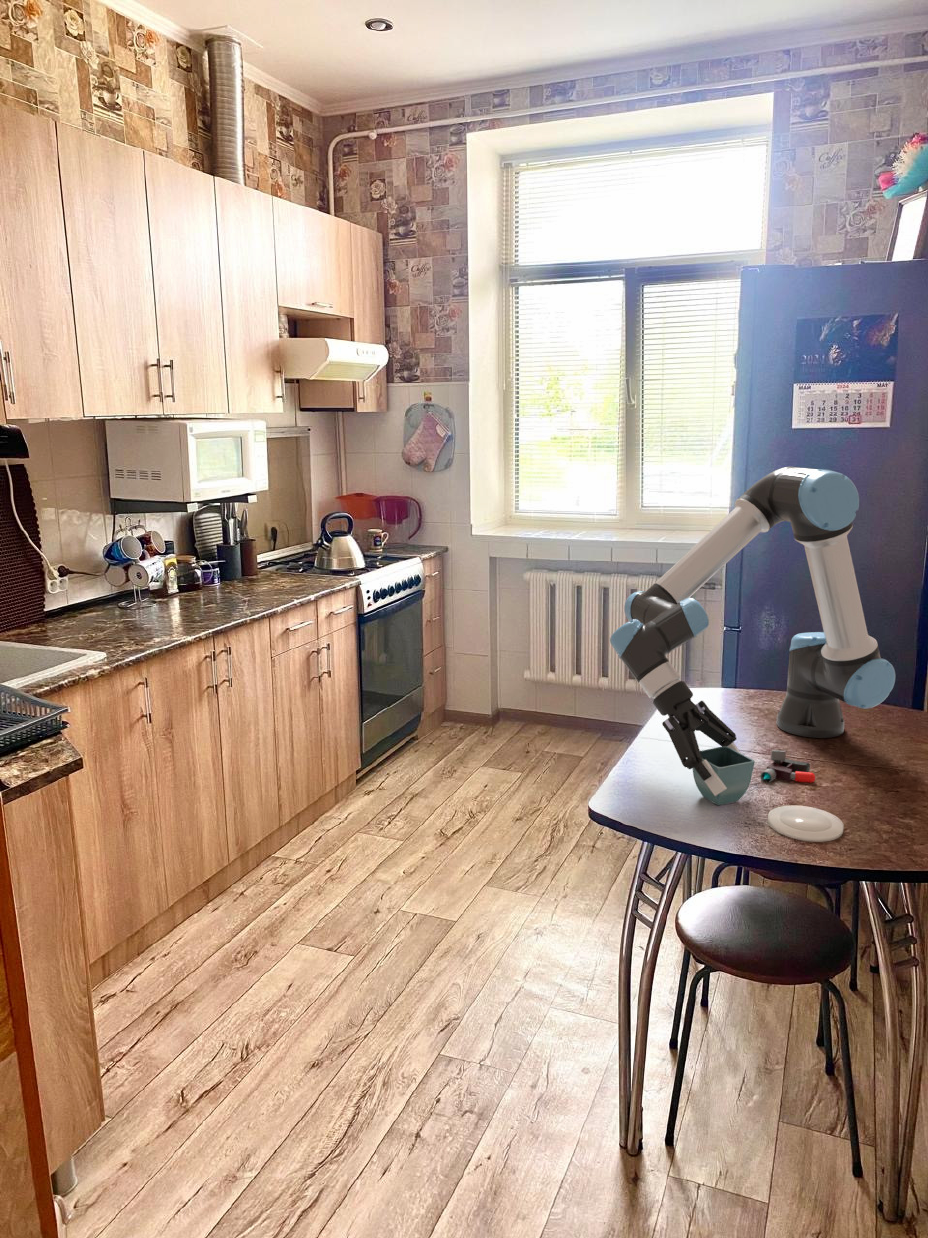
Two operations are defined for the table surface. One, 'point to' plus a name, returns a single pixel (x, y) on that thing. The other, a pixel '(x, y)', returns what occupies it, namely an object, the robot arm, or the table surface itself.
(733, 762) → the flower pot
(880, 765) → the table surface
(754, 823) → the table surface
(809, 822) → the saucer
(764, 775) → the toy gun
